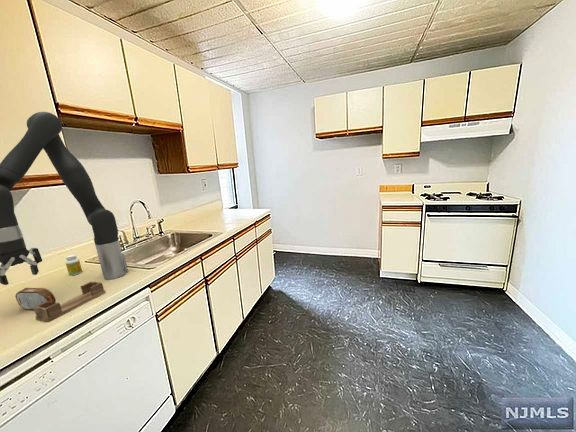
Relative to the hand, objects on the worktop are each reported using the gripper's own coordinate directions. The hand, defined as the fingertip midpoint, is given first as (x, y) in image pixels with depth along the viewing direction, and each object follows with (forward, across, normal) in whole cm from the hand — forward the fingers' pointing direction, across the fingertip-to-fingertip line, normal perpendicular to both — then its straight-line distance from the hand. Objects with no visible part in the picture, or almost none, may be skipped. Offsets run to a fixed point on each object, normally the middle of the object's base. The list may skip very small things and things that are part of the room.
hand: (21, 279), depth 96 cm
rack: (+12, -5, +17) cm, 22 cm away
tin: (+12, 0, +5) cm, 13 cm away
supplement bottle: (+12, -27, -18) cm, 35 cm away
